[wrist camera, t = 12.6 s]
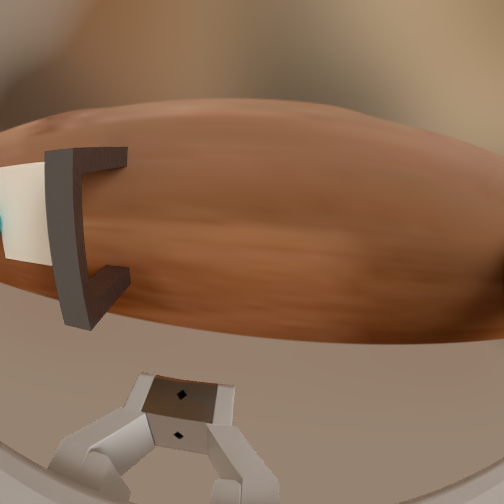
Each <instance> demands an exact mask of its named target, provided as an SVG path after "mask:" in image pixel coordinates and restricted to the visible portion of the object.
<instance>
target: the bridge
mask: <svg viewBox="0 0 504 504" xmlns="http://www.w3.org/2000/svg"><path fill="white" fill-rule="evenodd" d="M127 149H128V147H87V148H69V149H59V150H51V151H45V164H44V174H45V204H46V218H47V229H48V238H49V246H50V253H51V260H52V266H53V272H54V278H55V283H56V288H57V293H58V298H59V302H60V306H61V310H62V315H63V319H64V323H65V325H69V326H73V327H77V328H81V329H85V330H89V331H91V330H92V329H93V328H94V327H95V325H96V324H97V323H98V322H99V321H100V319H101V318H102V317H103V316H104V314H105V313H106V312H107V311H108V310H109V309H110V307H111V306H112V305H113V304H114V303H115V301H116V300H117V299H118V298H119V297H120V296H121V294H122V293H123V292H124V291H125V290H126V289H127V288H128V286H129V285H130V284H131V283H130V272H129V268H127V267H119V266H110V265H106V266H105V267H103V268H102V269H101V270H100V271H99V272H98V273H96V274H95V275H94V276H93V277H92V278H91V279H89V277H88V269H87V262H86V253H85V243H84V232H83V217H82V192H81V174H83V173H89V172H94V171H100V170H106V169H113V168H119V167H126V166H127Z"/></svg>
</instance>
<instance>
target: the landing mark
mask: <svg viewBox="0 0 504 504" xmlns="http://www.w3.org/2000/svg"><path fill="white" fill-rule="evenodd" d="M44 164H45V162H38V163H29V164H21V165H14V166H7V167H0V217H1V223H2V224H1V231H2V239H3V245H4V251H5V257H6V258H8V259H13V260H19V261H25V262H31V263H37V264H43V265H50V266H52V260H51V253H50V246H49V238H48V229H47V218H46V204H45V174H44Z"/></svg>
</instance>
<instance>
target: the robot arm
mask: <svg viewBox="0 0 504 504" xmlns="http://www.w3.org/2000/svg"><path fill="white" fill-rule="evenodd" d="M234 396H235V385H225V384H219V385H218V384H214V383H205V382H197V381H188V380H187V381H186V380H180V379H174V378H169V377H164V376H159V375H153V374H148V373H143V372H142V373H141V374H139V376H138V378H137V380H136V382H135V384H134V386H133V388H132V390H131V393H130V395H129V397H128V399H127V401H126V403H125V406H124V408H123V407H118V408H116V409H115V410H113V411H111V412H109V413H108V414H106V415H104V416H102V417H101V418H99V419H97V420H95V421H93V422H92V423H90V424H88V425H86V426H84V427H83V428H81V429H79V430H77V431H75V432H73V433H71V434H70V435H68V436H66V437H64V438H63V440H62V441H61V443H60V445H59V447H58V449H57V451H56V453H55V455H54V457H53V458H52V461H51V462H50V464H49V466H48V468H47V469H46V468H44V467H42V466H41V465H39V464H37V463H35V462H33V461H32V460H30V459H28V458H26V457H25V456H23V455H21V454H20V453H18V452H16V451H15V450H13V449H12V448H10V447H8V446H7V445H5V444H4V443H2V442H1V441H0V504H135V503H132V502H128V501H129V498H130V494H131V491H130V490H129V488H128V487H127V486H126V484H125V483H124V481H123V480H122V478H121V477H120V476H122V475H123V474H124V473H125V472H127V471H128V470H129V469H130V468H131V467H132V466H134V465H135V464H136V463H137V462H139V461H140V460H141V459H142V458H143V457H145V456H146V455H147V454H148V453H149V452H150V451H151V450H153V449H154V448H155V446H160V447H165V448H172V449H177V450H184V451H189V452H195V453H201V454H208V457H209V458H210V460H211V462H212V464H213V466H214V468H215V469H216V471H217V473H218V474H219V476H220V478H221V479H218V480H216V481H215V482H214V483H213V489H212V497H211V504H280V498H279V481H278V479H277V478H276V477H275V476H274V474H273V473H272V472H271V471H270V469H269V468H268V467H267V466H266V465H265V463H264V462H263V461H262V459H261V458H260V457H259V456H258V454H257V453H256V452H255V450H254V449H253V448H252V446H251V445H250V444H249V442H248V441H247V440H246V438H245V437H244V436H243V434H242V433H241V432H240V430H239V429H238V427H237V426H232V423H233V409H234ZM396 504H504V458H502V459H501V460H499V461H497V462H495V463H493V464H491V465H490V466H488V467H486V468H484V469H482V470H480V471H478V472H476V473H474V474H472V475H470V476H468V477H466V478H464V479H462V480H460V481H457V482H455V483H453V484H450V485H448V486H446V487H443V488H441V489H438V490H436V491H433V492H430V493H428V494H425V495H422V496H419V497H416V498H413V499H410V500H407V501H403V502H400V503H396Z"/></svg>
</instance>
